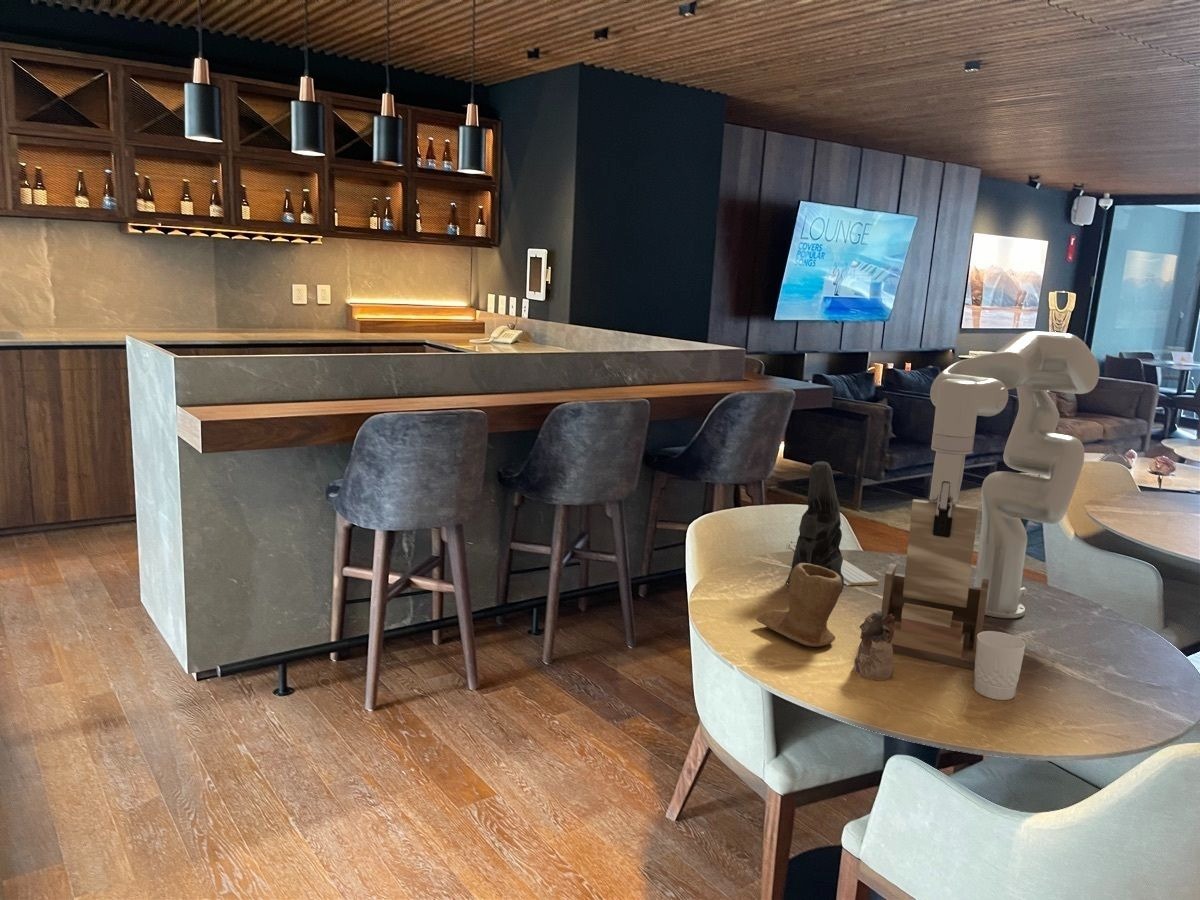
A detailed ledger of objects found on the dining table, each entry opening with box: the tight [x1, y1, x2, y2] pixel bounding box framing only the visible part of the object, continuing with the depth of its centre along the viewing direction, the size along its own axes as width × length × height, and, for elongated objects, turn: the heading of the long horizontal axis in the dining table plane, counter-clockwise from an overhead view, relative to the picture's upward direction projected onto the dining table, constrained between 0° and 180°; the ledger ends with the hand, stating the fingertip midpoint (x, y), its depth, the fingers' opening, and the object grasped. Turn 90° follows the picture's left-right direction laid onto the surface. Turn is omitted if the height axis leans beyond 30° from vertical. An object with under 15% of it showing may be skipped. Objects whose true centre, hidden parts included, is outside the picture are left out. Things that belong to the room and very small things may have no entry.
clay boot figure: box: [756, 563, 843, 648], centre depth 179 cm, size 15×12×15 cm
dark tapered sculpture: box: [786, 460, 845, 592], centre depth 208 cm, size 14×14×30 cm
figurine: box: [852, 610, 895, 681], centre depth 163 cm, size 7×7×12 cm
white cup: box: [973, 630, 1026, 701], centre depth 157 cm, size 8×8×10 cm
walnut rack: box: [880, 563, 989, 671], centre depth 175 cm, size 14×19×14 cm
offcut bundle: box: [891, 603, 965, 658], centre depth 172 cm, size 5×13×8 cm, turn 64°
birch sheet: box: [903, 498, 979, 608], centre depth 175 cm, size 2×12×20 cm, turn 64°
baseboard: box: [786, 541, 880, 586], centre depth 226 cm, size 30×3×10 cm
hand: (942, 533), depth 174 cm, fingers closed on birch sheet, 2 cm apart
